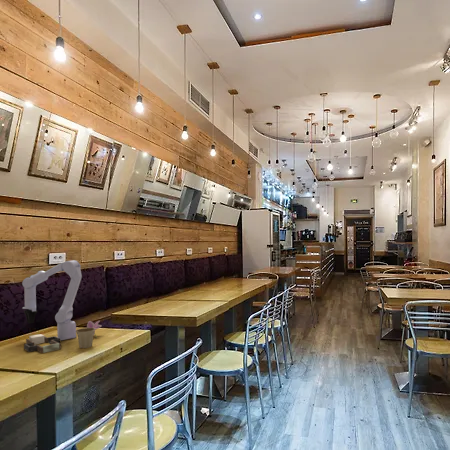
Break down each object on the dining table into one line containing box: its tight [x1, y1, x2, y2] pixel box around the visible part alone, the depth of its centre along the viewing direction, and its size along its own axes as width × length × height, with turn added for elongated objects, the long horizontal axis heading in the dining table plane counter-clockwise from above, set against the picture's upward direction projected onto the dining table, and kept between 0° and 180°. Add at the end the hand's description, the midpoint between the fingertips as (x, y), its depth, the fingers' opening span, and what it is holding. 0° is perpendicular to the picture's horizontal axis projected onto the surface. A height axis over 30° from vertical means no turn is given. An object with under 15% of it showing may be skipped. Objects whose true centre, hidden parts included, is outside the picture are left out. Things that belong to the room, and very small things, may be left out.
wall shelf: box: [23, 335, 62, 354], centre depth 200 cm, size 17×27×3 cm, turn 42°
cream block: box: [28, 333, 45, 346], centre depth 208 cm, size 6×6×4 cm
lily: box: [86, 320, 102, 339], centre depth 216 cm, size 12×12×10 cm
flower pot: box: [76, 327, 96, 349], centre depth 196 cm, size 9×9×9 cm
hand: (30, 322), depth 216 cm, fingers open, 3 cm apart
